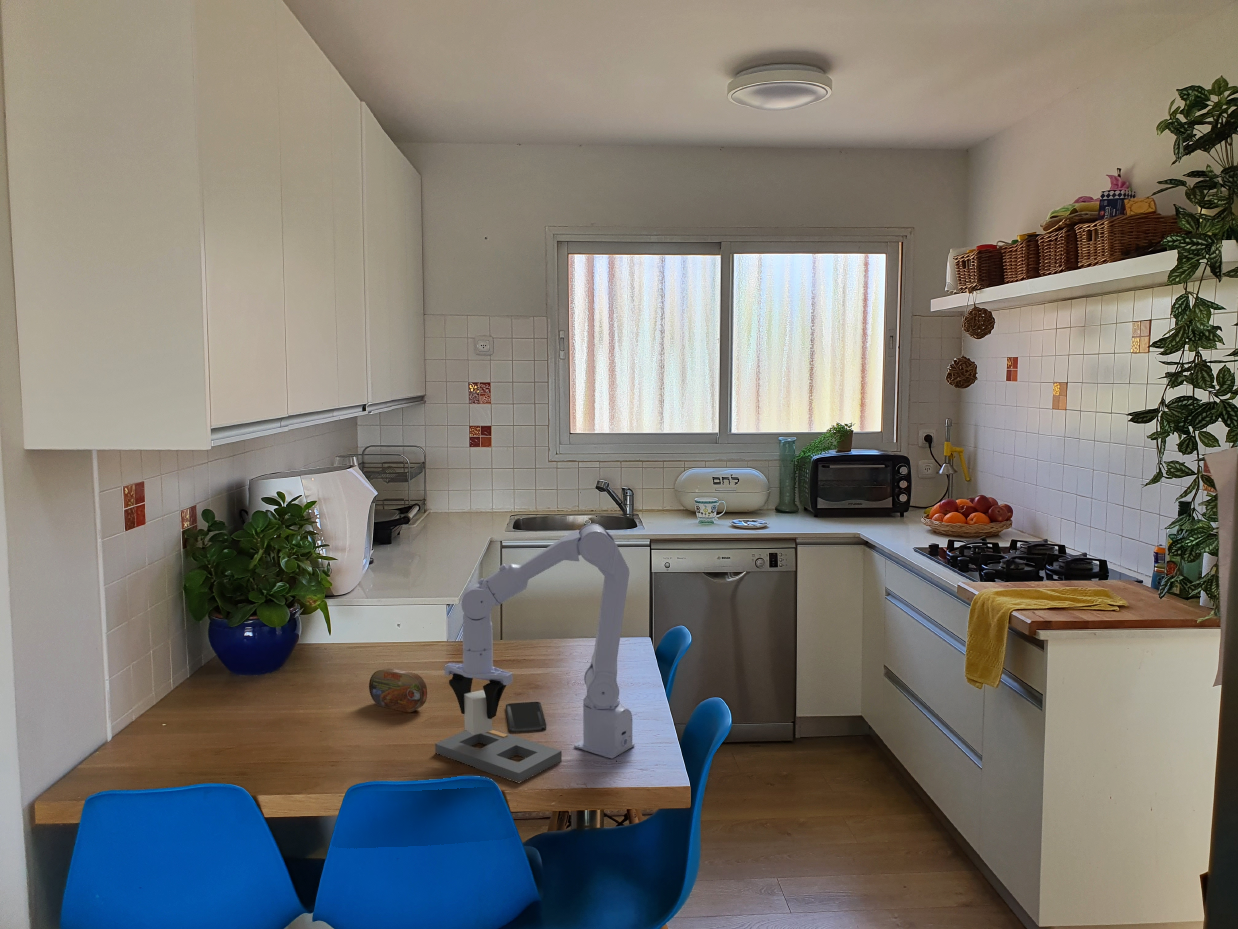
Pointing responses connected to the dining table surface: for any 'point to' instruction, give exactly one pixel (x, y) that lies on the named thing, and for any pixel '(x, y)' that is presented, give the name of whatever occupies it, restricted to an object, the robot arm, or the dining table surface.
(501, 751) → the socket plate
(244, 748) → the dining table surface
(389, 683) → the tin
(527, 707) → the phone
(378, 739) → the dining table surface
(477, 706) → the plug
